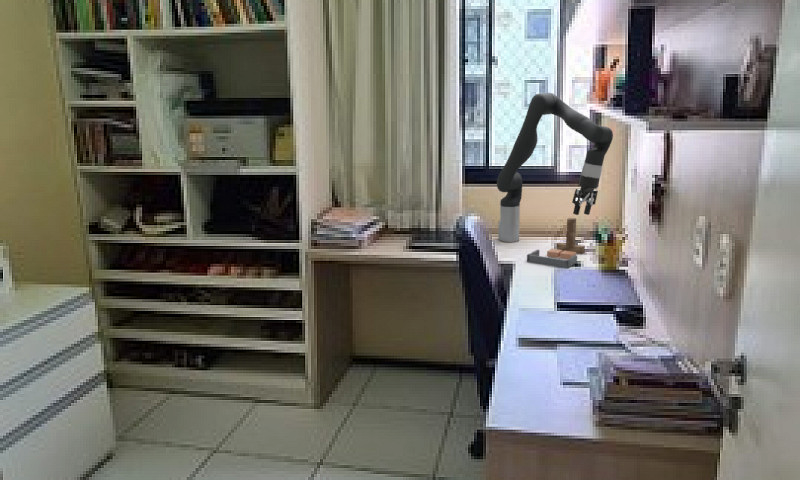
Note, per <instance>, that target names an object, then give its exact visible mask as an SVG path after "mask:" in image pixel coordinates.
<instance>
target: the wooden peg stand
mask: <svg viewBox="0 0 800 480" xmlns="http://www.w3.org/2000/svg"><path fill="white" fill-rule="evenodd" d="M576 226H577V218H573V217H569V218H567V219H566V236H565V237H566V239H565V243H564V242H557V243H556V245H555V246H556V247H555V249H558V250H563V251H571V252H576V254H579V255H583V254H584V253H586V252H585V251H586V245H579V244H576V233H577V231H576V230H577V227H576Z"/></svg>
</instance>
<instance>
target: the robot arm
mask: <svg viewBox="0 0 800 480" xmlns="http://www.w3.org/2000/svg"><path fill="white" fill-rule="evenodd" d="M546 115H553V116H557V117H559V118H561V119H562V120H563V121H564V124H565V125H566V126H567V127H568V128H569V129H570V130H572V131H574V132H576V133H579V134H580V135H581V136H582V137H583V138H585V139H586V140H587V141H589V142H590V143H593V146H592V148H590V149H588V150H587V152H586V154H585V159H584V163H583V167H582V169H581V172H580V175H579V176H580V178H579V181H578V186H579V187H580V188H575V190H574V194H573V198H572V202H571V203H572V204H574V208H573V213H572V214H573V215H576V216H579V214H580V211H581V207H582V204H583V203H584V202H585V206H584V211H583V214H584V215H587V216H589V215H590V213H591V209H592V207H593V206H594V205H596V202H597V197H598V193H599V190H597V189H598V187H599V184H600V179H601V175H602V171H603V164H604V160H605V156H606V154H607V153H608V151H609V148H610V146H611V144H612V141H613V138H614V133H613V130H612V129H611V128H610V127H608V126H603V125H599V124H597V123H595V122H594V121H593V120H592V119H591V118H590V117H588V116H586V115H584V114H582V113H580V112H578V111H577V110H575V109H574V108H572V107H570V106H569V105H568V104H567V103H565V101H564V100H562V99H561V98H560V97H559V96H557V95H556V94H554V93H552V92H540V93H535V95H533V97H532V98H531V100H530V103H529V105H528V108H527V111H526V114H525V118H524V121H523V123H522V126H521V127H520V130H519V133H518V135H517V138H516V139H515V141H514V144H513V146H512V149H511V151H510V154H509V156H508V159H507V160H506V162H505V164H504V166H503V167H502V169H501V171H500V173H499V175H498V176H497V180H496V189H498V191H499V192H500V193H506V195H504V197H503V198H501V199H500V204H499V205H500V208H499V209H500V210H499V211H500V212H499V215H500V219H499V221H498V225H497V226H498V230H497V231H498V233H497V235H498V237H497V240H498V241H502V242H505V243H514V242H519V241H520V213H521V212H520V211H521V210H520V207H521V206H520V205H521V204H520V203H521V200H522V196H523V194H522V193H523V178H522V175H521V174H520V173H519V172H517V171H519V169H520V168H521V167H522V166H523V165H524V164H525V163H527V161H528V159H530V158H531V156H532V155H533V153H534V151H535V149H536V147H537V144H538V140H539V139H538V138H539V137H538V131H537V130H538V125H539V122H540V120H541V119H542V117H543V116H546Z"/></svg>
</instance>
